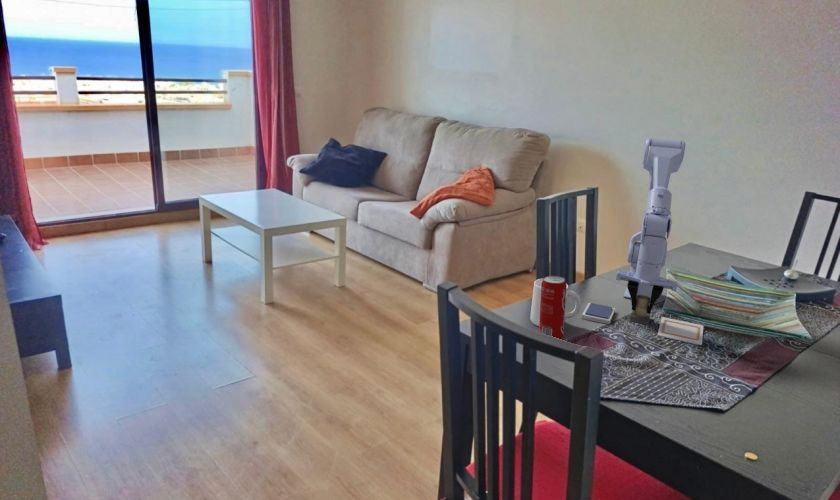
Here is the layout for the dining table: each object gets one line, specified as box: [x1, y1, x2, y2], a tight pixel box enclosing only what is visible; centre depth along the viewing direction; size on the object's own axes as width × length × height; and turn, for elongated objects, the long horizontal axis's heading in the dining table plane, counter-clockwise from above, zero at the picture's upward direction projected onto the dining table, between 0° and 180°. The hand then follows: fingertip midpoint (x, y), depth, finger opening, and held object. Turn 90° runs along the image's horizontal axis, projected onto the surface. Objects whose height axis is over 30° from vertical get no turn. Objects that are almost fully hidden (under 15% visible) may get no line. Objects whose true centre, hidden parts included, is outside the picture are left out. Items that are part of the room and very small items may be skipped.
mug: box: [529, 277, 582, 327], centre depth 151 cm, size 12×8×10 cm
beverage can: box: [538, 275, 568, 340], centre depth 142 cm, size 6×6×15 cm
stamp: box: [629, 295, 651, 325], centre depth 156 cm, size 4×4×6 cm
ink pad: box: [581, 302, 616, 325], centre depth 158 cm, size 9×7×1 cm
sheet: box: [656, 316, 704, 346], centre depth 151 cm, size 12×10×1 cm
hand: (641, 310), depth 156 cm, fingers closed on stamp, 3 cm apart
